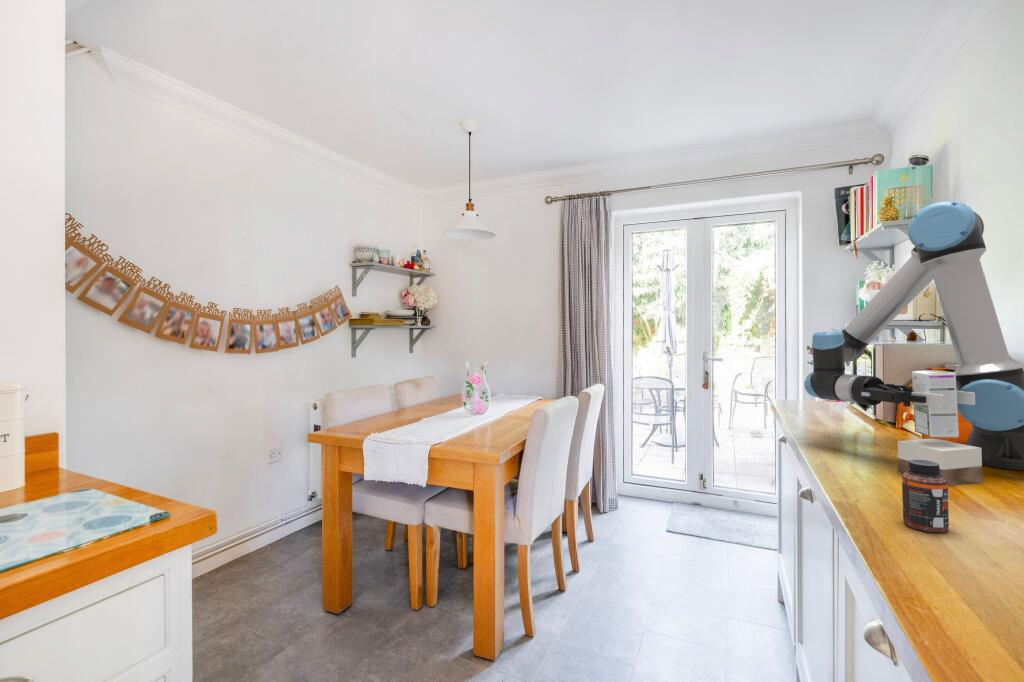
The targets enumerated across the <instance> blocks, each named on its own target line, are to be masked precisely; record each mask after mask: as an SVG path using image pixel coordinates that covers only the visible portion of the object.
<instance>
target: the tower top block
mask: <svg viewBox="0 0 1024 682" xmlns="http://www.w3.org/2000/svg"><path fill="white" fill-rule="evenodd" d="M898 458H899V459H903V460H907V461H909V460H927V461H933V462H936V463H938V464H939V468H940V469H942V470H946V469H957V468H967V467H978V466H980V467H983V465H982V453H981V448H979V447H974V446H969V445H966V444H962V443H960V442H959V443H958V442H953V441H949V440H944V439H939V438H935V437H931V438H923V439H922V438H920V439H912V440H911V439H910V440H898V441H897V459H898Z"/></svg>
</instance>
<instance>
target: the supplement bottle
mask: <svg viewBox="0 0 1024 682" xmlns="http://www.w3.org/2000/svg"><path fill="white" fill-rule="evenodd" d="M908 467H909V468H910V470H909V471H907V472H905V473H903V474H901V475H902V476H901V491H902V492H901V493H902V494H901V496H902V497H901V498H902V518H903V522H904V524H905V525H906V526H908V527H910V528H912V529H914V530H919V531H921V532H927V533H933V534H941V533H946V532H947V531H949V529H950V528H949V527H950V521H949V520H950V518H949V517H950V516H949V487H948V483H947V480H946V479H945V478H944V477H943V476H942V475H941V474H940V473H939V471H940V468H939V464H938V463H936V462H933V461H927V460H909V466H908Z"/></svg>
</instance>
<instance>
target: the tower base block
mask: <svg viewBox="0 0 1024 682" xmlns="http://www.w3.org/2000/svg"><path fill="white" fill-rule="evenodd" d="M908 466H909V461H907V460H903V459H899V458H898V457H897V473H898V472H900V473H905V472H907V471H909V470H910V468H909V467H908ZM900 473H899V474H900ZM939 473H940V474H941V475H942V476H943V477H944V478H945V479H946V480H947V483H948V485H950V486H962V485H963V484H966V485H980V484H979V483H983V466H978V467H967V468H957V469H946V470H942V469H940V471H939Z"/></svg>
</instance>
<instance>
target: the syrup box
mask: <svg viewBox="0 0 1024 682" xmlns="http://www.w3.org/2000/svg"><path fill="white" fill-rule="evenodd" d="M954 372H955V371H944V370H931V369H930V370H928V369H927V370H924V369H923V370H914V371H912V372H911V378H912V379H911V380H912V386H913V392H920V393H930V394H940V395H945V396H946V408H941V407H933V406H925V405H917V404H913V420H914V422H913V423H914V432H915V433H918V434H921V435H924V436H927V437H930V438H959V437H960V433H959V431H960V430H959V415H958V414H959V411H958V409H957V393H956V391H957V390H956V375H955V373H954Z"/></svg>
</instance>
